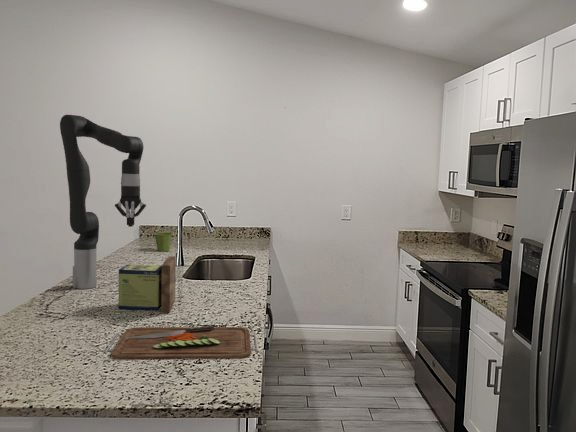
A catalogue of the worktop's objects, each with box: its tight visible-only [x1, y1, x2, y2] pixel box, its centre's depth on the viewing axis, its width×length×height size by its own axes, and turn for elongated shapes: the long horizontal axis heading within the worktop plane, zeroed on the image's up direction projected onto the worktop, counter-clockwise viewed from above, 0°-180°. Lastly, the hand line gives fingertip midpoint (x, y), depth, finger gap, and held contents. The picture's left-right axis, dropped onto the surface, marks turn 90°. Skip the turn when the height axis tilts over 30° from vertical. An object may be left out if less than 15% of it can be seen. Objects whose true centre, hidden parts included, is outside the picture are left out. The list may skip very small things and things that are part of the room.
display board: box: [160, 255, 177, 314], centre depth 202 cm, size 3×20×18 cm, turn 6°
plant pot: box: [153, 231, 174, 253], centre depth 332 cm, size 12×12×11 cm
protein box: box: [117, 264, 162, 312], centre depth 201 cm, size 10×16×16 cm
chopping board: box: [104, 325, 259, 360], centre depth 162 cm, size 45×27×3 cm, turn 96°
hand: (130, 226), depth 216 cm, fingers closed
